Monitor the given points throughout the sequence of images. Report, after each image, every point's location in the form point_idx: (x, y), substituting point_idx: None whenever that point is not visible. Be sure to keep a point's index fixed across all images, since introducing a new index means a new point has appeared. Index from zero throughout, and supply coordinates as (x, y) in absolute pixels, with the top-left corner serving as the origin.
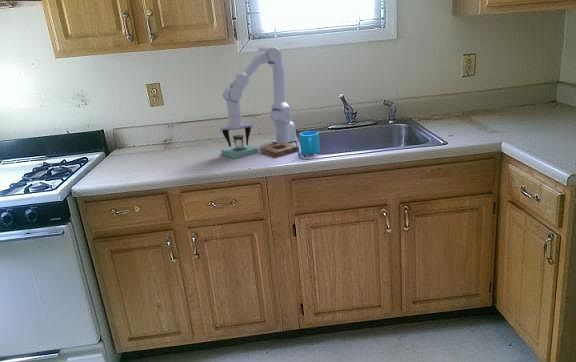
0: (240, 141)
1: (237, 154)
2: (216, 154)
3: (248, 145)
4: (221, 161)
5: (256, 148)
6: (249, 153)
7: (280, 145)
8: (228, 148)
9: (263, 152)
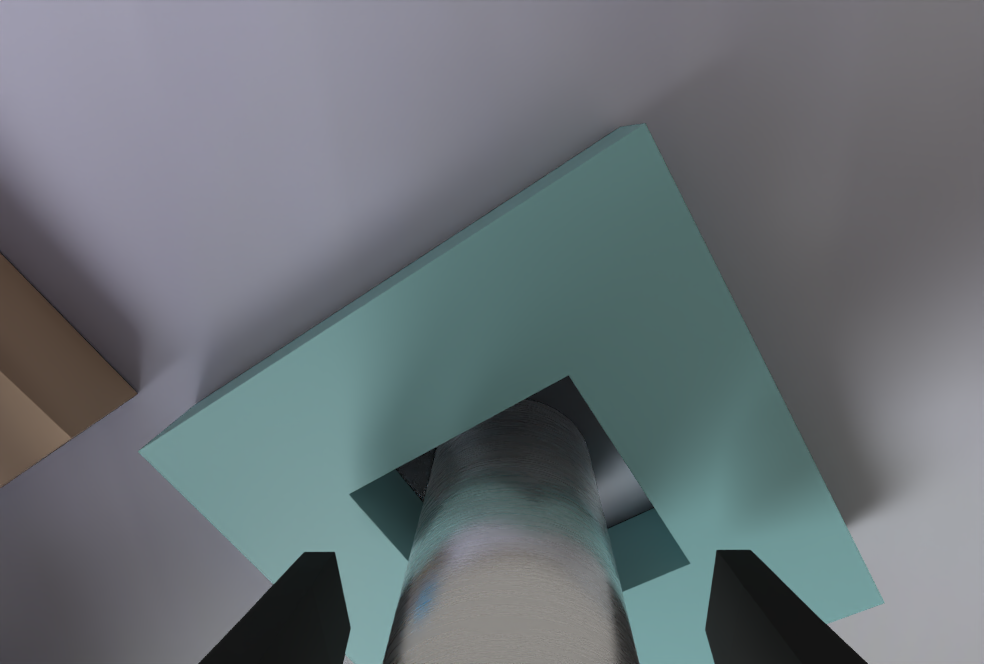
0: (443, 616)
1: (552, 177)
2: (920, 543)
3: (361, 660)
4: (936, 7)
5: (158, 438)
6: (318, 328)
7: None
8: None
9: (70, 337)
